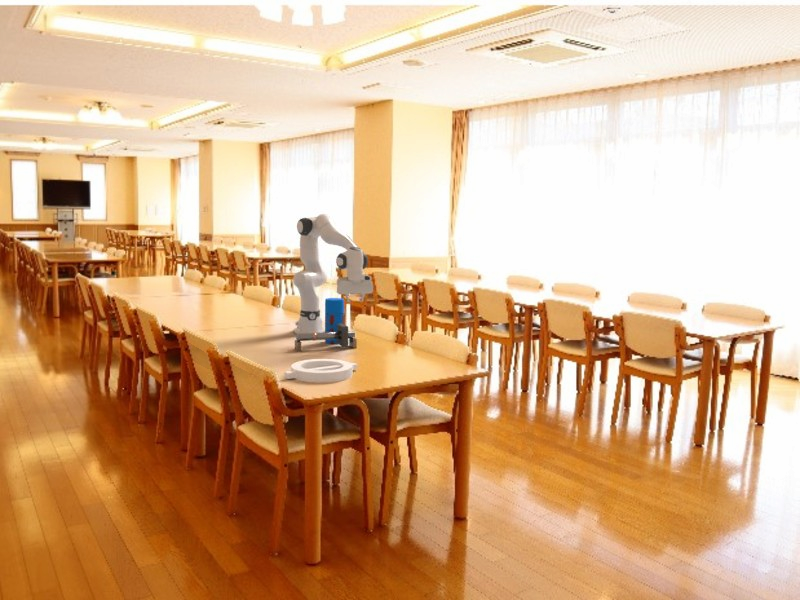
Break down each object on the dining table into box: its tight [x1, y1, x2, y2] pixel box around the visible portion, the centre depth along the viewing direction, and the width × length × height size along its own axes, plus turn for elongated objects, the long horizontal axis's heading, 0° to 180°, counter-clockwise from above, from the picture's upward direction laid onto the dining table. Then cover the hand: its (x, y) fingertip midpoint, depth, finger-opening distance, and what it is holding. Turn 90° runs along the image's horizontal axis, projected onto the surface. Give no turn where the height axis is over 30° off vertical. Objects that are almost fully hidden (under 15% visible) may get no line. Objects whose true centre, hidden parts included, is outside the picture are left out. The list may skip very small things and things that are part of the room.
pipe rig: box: [294, 330, 358, 352], centre depth 365 cm, size 7×33×9 cm, turn 112°
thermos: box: [324, 297, 345, 345], centre depth 382 cm, size 11×11×25 cm
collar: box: [337, 323, 349, 348], centre depth 368 cm, size 11×3×11 cm, turn 22°
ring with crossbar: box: [284, 358, 359, 383], centre depth 306 cm, size 28×28×5 cm
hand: (354, 301), depth 368 cm, fingers open, 6 cm apart
